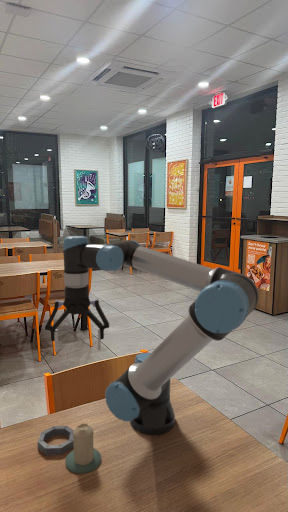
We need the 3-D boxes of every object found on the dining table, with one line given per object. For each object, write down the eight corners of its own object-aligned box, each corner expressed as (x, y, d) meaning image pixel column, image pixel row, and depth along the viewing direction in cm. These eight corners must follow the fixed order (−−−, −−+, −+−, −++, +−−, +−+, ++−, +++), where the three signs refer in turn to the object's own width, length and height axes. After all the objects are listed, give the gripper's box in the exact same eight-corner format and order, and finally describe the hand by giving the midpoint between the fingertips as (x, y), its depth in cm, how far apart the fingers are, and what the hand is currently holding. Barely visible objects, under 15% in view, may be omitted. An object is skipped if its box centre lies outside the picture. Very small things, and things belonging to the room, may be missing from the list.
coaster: (102, 448, 107) (102, 446, 107) (99, 473, 97) (99, 471, 97) (68, 449, 107) (68, 447, 107) (62, 474, 97) (62, 472, 97)
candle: (89, 467, 99) (88, 433, 97) (71, 464, 100) (69, 431, 98) (96, 453, 104) (95, 421, 102) (78, 451, 105) (77, 419, 104)
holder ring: (77, 431, 115) (76, 425, 115) (71, 454, 104) (71, 447, 104) (43, 432, 114) (43, 426, 114) (35, 455, 104) (34, 448, 104)
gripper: (115, 281, 118) (116, 343, 121) (38, 283, 115) (40, 346, 118) (116, 287, 110) (117, 352, 113) (33, 288, 107) (36, 355, 110)
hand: (78, 349), depth 116 cm, fingers open, 13 cm apart
